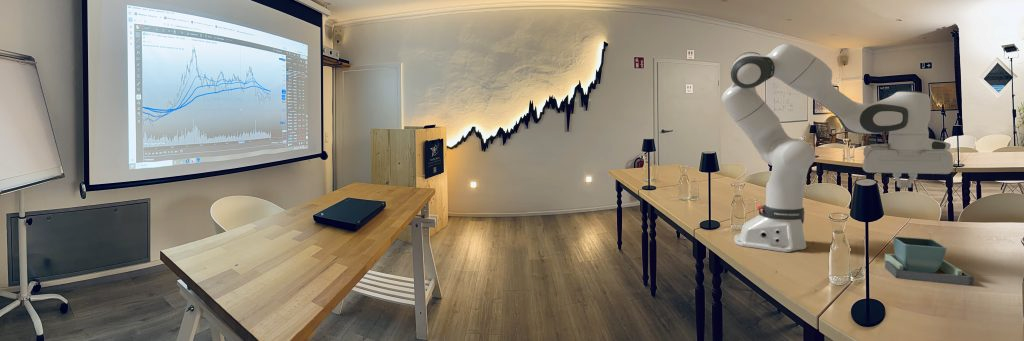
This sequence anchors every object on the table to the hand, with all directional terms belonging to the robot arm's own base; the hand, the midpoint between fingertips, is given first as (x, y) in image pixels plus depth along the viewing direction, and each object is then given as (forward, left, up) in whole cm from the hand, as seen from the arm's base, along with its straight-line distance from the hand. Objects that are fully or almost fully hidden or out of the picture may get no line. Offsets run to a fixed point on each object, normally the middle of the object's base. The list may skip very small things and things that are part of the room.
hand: (903, 187), depth 124 cm
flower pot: (0, -14, -23) cm, 27 cm away
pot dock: (0, -18, -23) cm, 29 cm away
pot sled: (0, -14, -22) cm, 26 cm away
